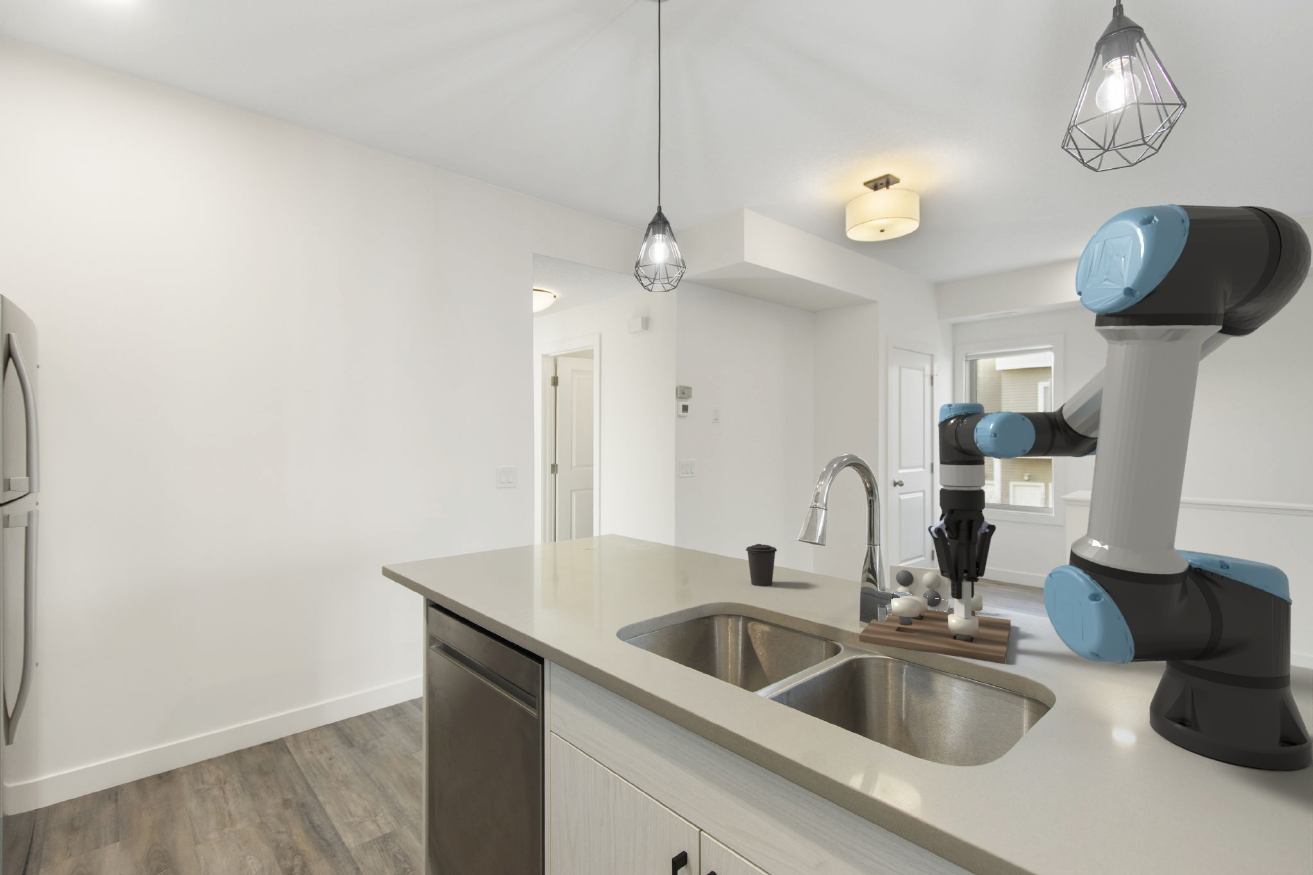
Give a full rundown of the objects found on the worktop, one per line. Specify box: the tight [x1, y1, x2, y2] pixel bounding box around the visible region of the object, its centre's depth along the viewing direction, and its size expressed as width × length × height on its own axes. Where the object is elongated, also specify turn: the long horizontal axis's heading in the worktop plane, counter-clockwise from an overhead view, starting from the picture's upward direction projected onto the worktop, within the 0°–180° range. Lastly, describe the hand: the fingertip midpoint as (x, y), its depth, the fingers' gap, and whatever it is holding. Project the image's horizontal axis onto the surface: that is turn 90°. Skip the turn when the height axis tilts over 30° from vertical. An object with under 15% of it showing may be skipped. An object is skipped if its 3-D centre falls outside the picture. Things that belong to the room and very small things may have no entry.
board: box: [858, 610, 1012, 665], centre depth 123 cm, size 24×24×1 cm
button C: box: [971, 592, 984, 616], centre depth 124 cm, size 5×5×4 cm
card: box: [889, 563, 951, 612], centre depth 142 cm, size 4×12×9 cm, turn 59°
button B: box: [891, 597, 919, 626], centre depth 121 cm, size 5×5×4 cm
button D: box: [901, 595, 928, 620], centre depth 130 cm, size 5×5×4 cm
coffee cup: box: [745, 543, 778, 587], centre depth 165 cm, size 8×8×10 cm
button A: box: [948, 614, 978, 642], centre depth 116 cm, size 5×5×4 cm
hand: (962, 615), depth 116 cm, fingers closed
